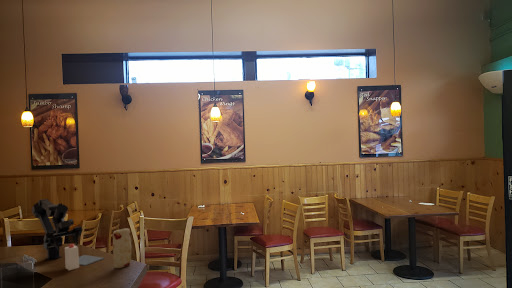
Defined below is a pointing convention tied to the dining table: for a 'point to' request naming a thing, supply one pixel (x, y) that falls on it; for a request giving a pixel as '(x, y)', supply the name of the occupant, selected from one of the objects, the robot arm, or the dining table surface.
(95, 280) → the dining table surface
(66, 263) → the big red button box
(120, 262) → the food model
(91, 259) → the placemat
